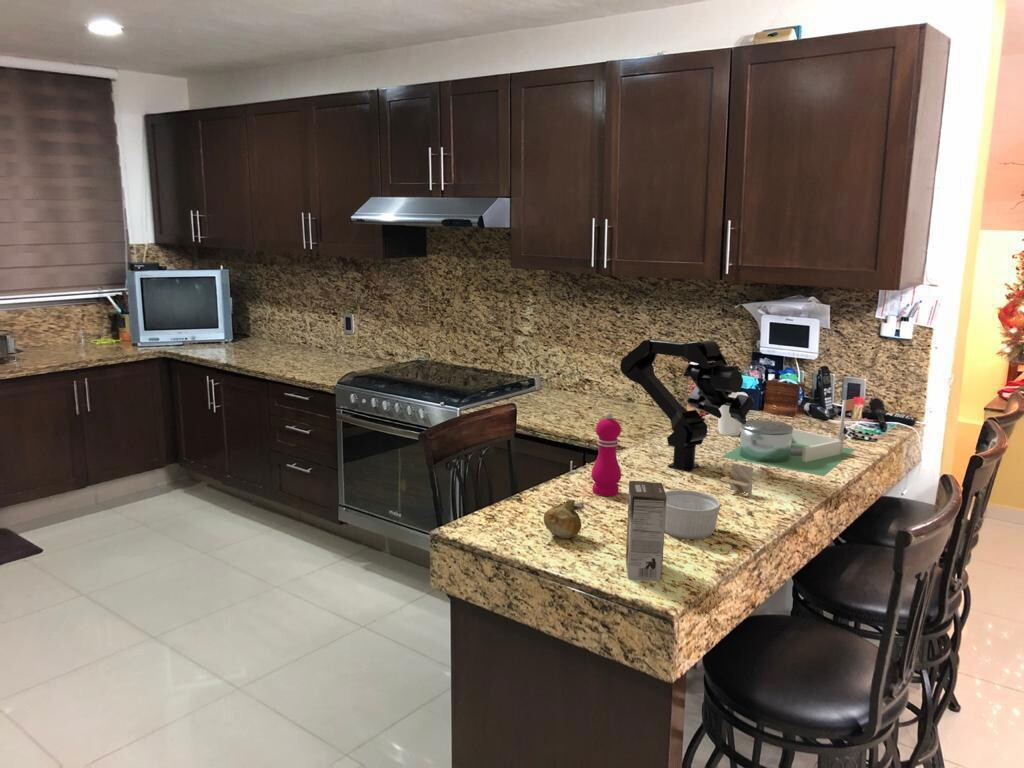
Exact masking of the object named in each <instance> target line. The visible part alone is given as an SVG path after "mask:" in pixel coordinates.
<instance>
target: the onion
mask: <svg viewBox="0 0 1024 768" xmlns="http://www.w3.org/2000/svg"><path fill="white" fill-rule="evenodd" d="M583 509H585V502H576V500H574V499H568V500H566V501H562V502H561V503H558V504H557V505H556V504H555V505H554V506H553V507H550V508H549V509H548V510H546V511H545V513H544V515H543V523H544V526H545V527H546V528H547V530H545V531H547V532H549V533H551V535H552V536H554V537H556V538H558V539H572V538H574V537H575V536H577V535H578V534H579V532H580V531H581V528H582V521H581V518H580V516H579V514H578V513H577V511H576V510H583Z"/></svg>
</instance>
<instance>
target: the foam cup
mask: <svg viewBox="0 0 1024 768" xmlns="http://www.w3.org/2000/svg"><path fill="white" fill-rule="evenodd" d="M740 394H741V395H746V396H749V395H748V394H747V393H745V392H741V391H738V392H737V393H734V392H732V394H731V395H729V397H732V398H736V397H737V395H740ZM729 407H730V406H727V405H722V406H721V407H720V408H719V410H720V412H721V415H722V416H721V418H717V421H718V422H717V425H718V433H719V434H720V435H724V436H730V437H732V436H739V435H740V434H741V423H740V422H738V421H736V420H735V419H733V418H732V417H730V416H731V415H730V413H729Z"/></svg>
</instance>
